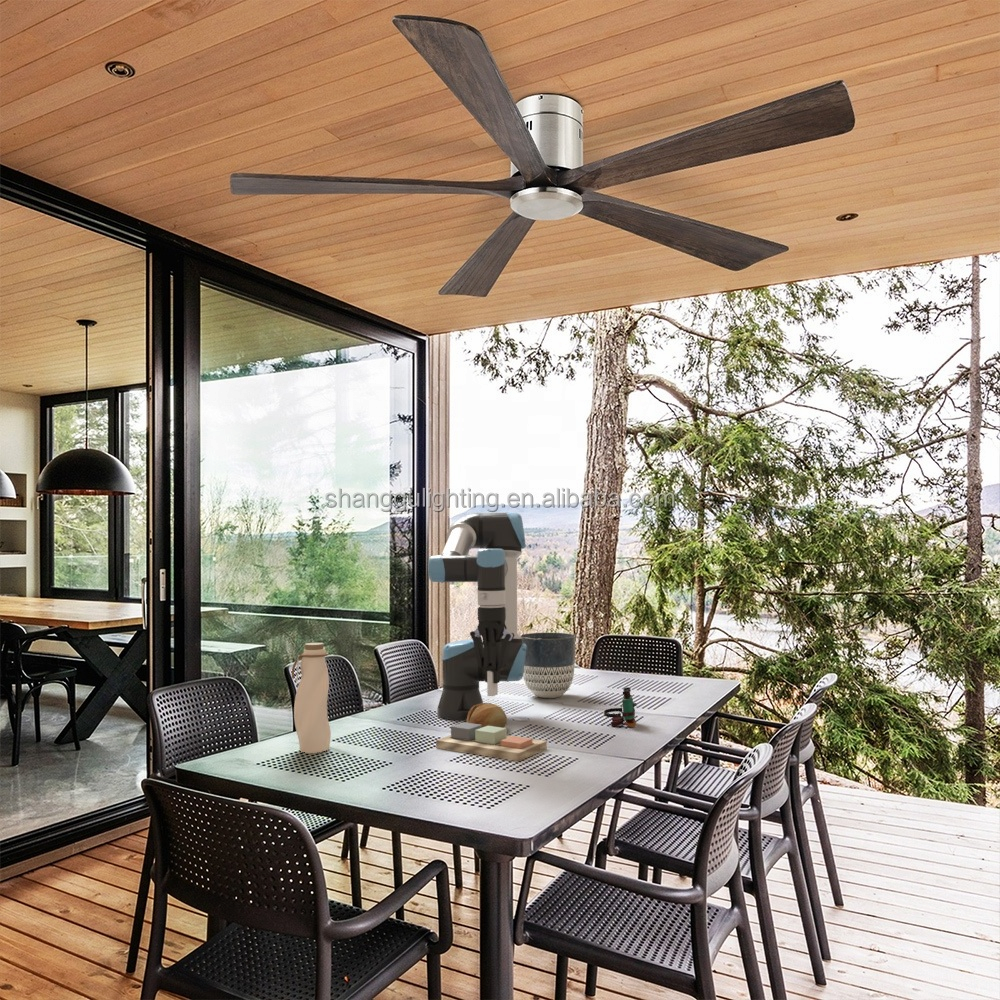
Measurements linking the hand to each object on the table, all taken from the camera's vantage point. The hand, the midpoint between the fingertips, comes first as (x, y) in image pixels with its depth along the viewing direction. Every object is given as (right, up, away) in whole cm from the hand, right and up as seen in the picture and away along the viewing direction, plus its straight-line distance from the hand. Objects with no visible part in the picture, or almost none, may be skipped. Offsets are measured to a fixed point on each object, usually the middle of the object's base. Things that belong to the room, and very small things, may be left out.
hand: (492, 695), depth 212 cm
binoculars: (+38, -15, +24) cm, 47 cm away
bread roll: (-2, -15, +18) cm, 24 cm away
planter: (+19, -18, +68) cm, 72 cm away
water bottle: (-48, -15, 0) cm, 50 cm away
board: (0, -14, -1) cm, 14 cm away
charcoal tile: (-7, -12, +4) cm, 15 cm away
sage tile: (0, -12, -1) cm, 12 cm away
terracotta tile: (+6, -13, -5) cm, 16 cm away
